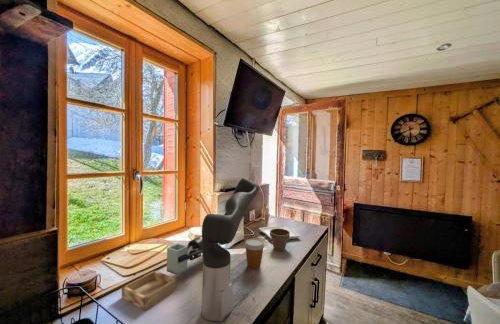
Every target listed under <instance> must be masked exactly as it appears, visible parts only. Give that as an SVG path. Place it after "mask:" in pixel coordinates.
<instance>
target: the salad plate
mask: <svg viewBox="0 0 500 324" xmlns="http://www.w3.org/2000/svg"><path fill="white" fill-rule="evenodd" d="M258 229H259V231H260V232H261V233H262V234H264V235H265V236H267V237H268V238H269V239H270V240H271V241H272V238H271V236H270V231H271V230H272V229H285V230H288V231H289V232H290V237H289V238H288V240H293V239H294V240H295V239H298V238H300V237H301V234H299V233H297V232H296V231H295V230H293V229H291V228H290V227H288V226H286V225H279V226H278V225H275V226H265V227H259V228H258Z"/></svg>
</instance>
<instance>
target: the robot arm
mask: <svg viewBox="0 0 500 324" xmlns="http://www.w3.org/2000/svg"><path fill="white" fill-rule="evenodd" d="M259 189H260V187H259V186H258V184H257V183H255V182H254V181H252V180H250V179H248V178H247V177H242V178H241V179H240V180H239V182H238V183H237V185H236V186H235V189H234V191H233V193H232V195H231V196H230V197H229V198H228V199H227V200H226V202H225V206H224V208H225V212H224V214H216V213H207V214H206V215H205V216H204V218H203V221H202V224H201V236H198V237H196V238H194V239H191V240H190V241H189V242H188V244H186V245H185V246H188V253H186V255H185V254H184V255H182V256H180V257H179V258H178V262H179V263H181V262H183V261H185V260H188V261H193V260H196V259H198V258H200V257H202V281H201V282H202V284H201V288H202V289H201V291H202V293H201V295H202V296H201V315H202V318H204V319H205V320H207V321H212V322H220V323H221V322H222V321H224V319H226V317H227V316H228V315H229V314H230V313H231V312H232V305H233V304H232V303H233V283H231V259H232V257H231V252H230V251H228V250H227V249H226V248H224V247H222V246H224V245H227V244H228V245H229V244H231V243H232V242H233V240H234V239H235V237H236V235H237V232H238V229H239V227H240V224H241V222H242V220H243V218H244V216H245V215H246V213H247V211H248V210H249V208H250V205H251V204H252V202H253V201H254V199H255V198H256V197H257V195H258V193H259Z"/></svg>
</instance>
